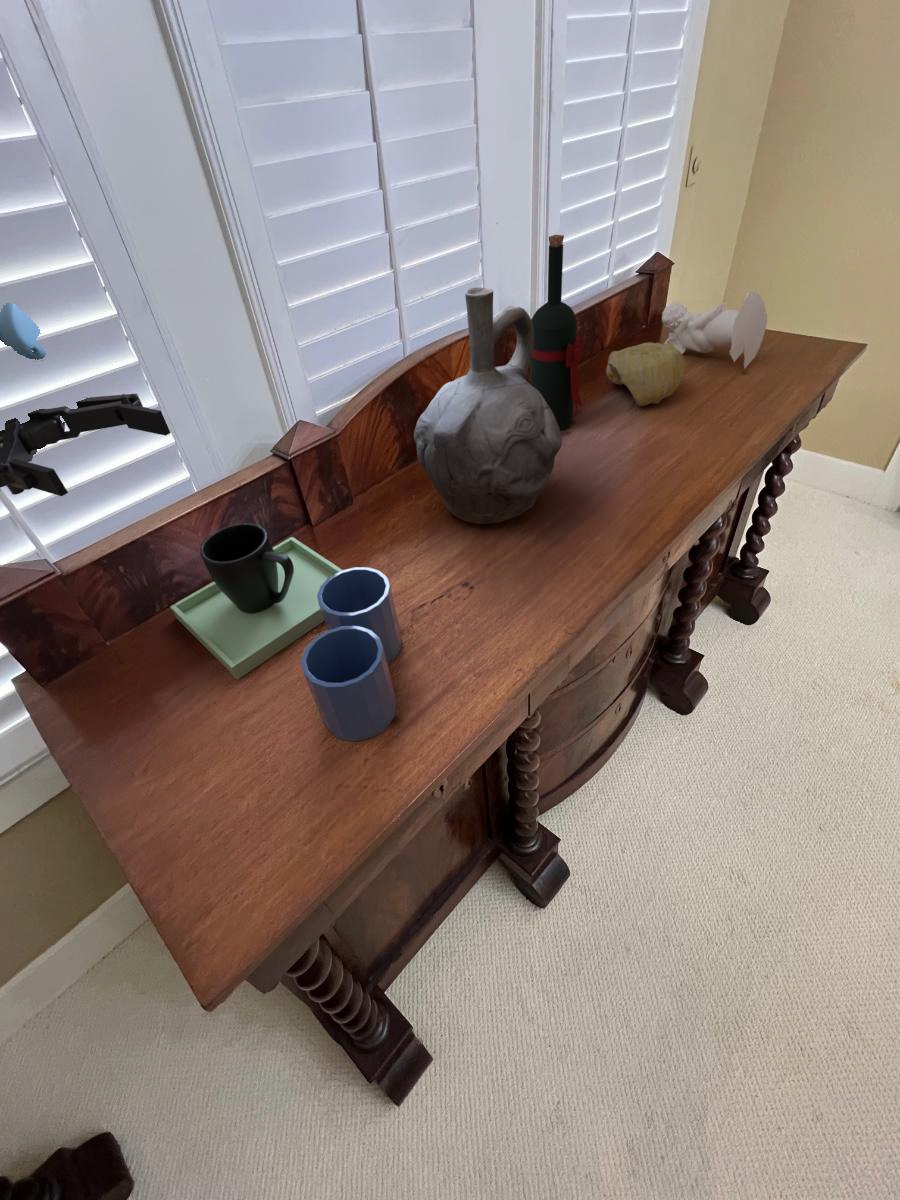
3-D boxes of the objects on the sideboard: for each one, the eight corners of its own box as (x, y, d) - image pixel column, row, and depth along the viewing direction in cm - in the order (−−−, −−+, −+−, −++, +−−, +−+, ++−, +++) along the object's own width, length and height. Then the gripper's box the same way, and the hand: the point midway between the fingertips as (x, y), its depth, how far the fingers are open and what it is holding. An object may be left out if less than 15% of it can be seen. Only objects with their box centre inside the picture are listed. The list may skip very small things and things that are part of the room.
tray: (237, 679, 68) (231, 668, 67) (176, 618, 77) (169, 606, 76) (364, 593, 77) (360, 581, 76) (295, 547, 87) (292, 536, 85)
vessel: (447, 454, 103) (426, 264, 83) (572, 462, 97) (583, 259, 77) (399, 536, 86) (359, 323, 66) (547, 552, 80) (553, 323, 60)
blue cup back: (341, 679, 67) (322, 623, 61) (331, 632, 73) (313, 577, 67) (408, 659, 68) (396, 603, 62) (393, 615, 74) (381, 560, 68)
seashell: (688, 400, 115) (629, 366, 122) (711, 348, 106) (645, 314, 113) (635, 431, 108) (575, 393, 114) (654, 378, 99) (588, 340, 106)
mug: (285, 635, 72) (261, 577, 66) (213, 611, 77) (184, 554, 70) (323, 593, 77) (305, 535, 71) (254, 573, 82) (231, 517, 75)
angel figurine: (655, 371, 132) (678, 320, 131) (744, 381, 119) (771, 325, 118) (633, 337, 121) (658, 282, 121) (729, 344, 109) (757, 282, 108)
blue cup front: (330, 751, 60) (308, 697, 54) (317, 694, 66) (296, 639, 59) (405, 726, 61) (391, 670, 55) (386, 672, 67) (371, 616, 61)
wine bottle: (564, 440, 103) (573, 246, 83) (520, 424, 109) (519, 239, 89) (591, 423, 107) (606, 233, 86) (548, 409, 112) (552, 228, 92)
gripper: (101, 410, 81) (211, 431, 73) (-85, 504, 65) (27, 545, 57) (73, 355, 76) (187, 371, 68) (-136, 443, 60) (-22, 478, 52)
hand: (114, 451), depth 62 cm, fingers open, 13 cm apart
